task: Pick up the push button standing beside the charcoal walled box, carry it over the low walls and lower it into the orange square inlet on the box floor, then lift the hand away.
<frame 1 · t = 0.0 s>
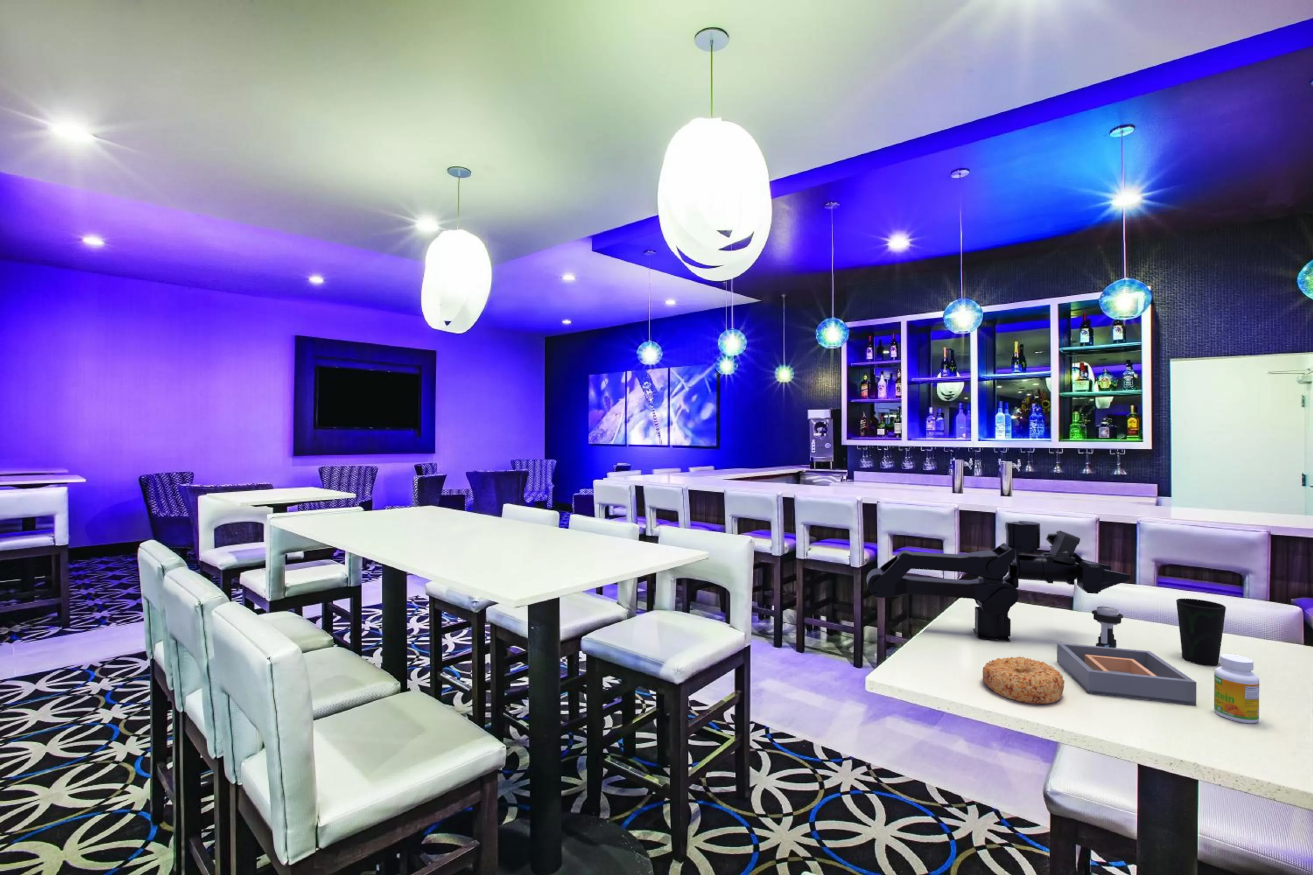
hand: (1120, 572, 133), 17 cm above the table, tool horizontal, fingers open, 9 cm apart
supplement bottle: (1236, 717, 100), on the table
cup: (1200, 661, 125), on the table
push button: (1108, 656, 128), on the table
bagel: (1022, 692, 110), on the table
walled box: (1120, 681, 114), on the table
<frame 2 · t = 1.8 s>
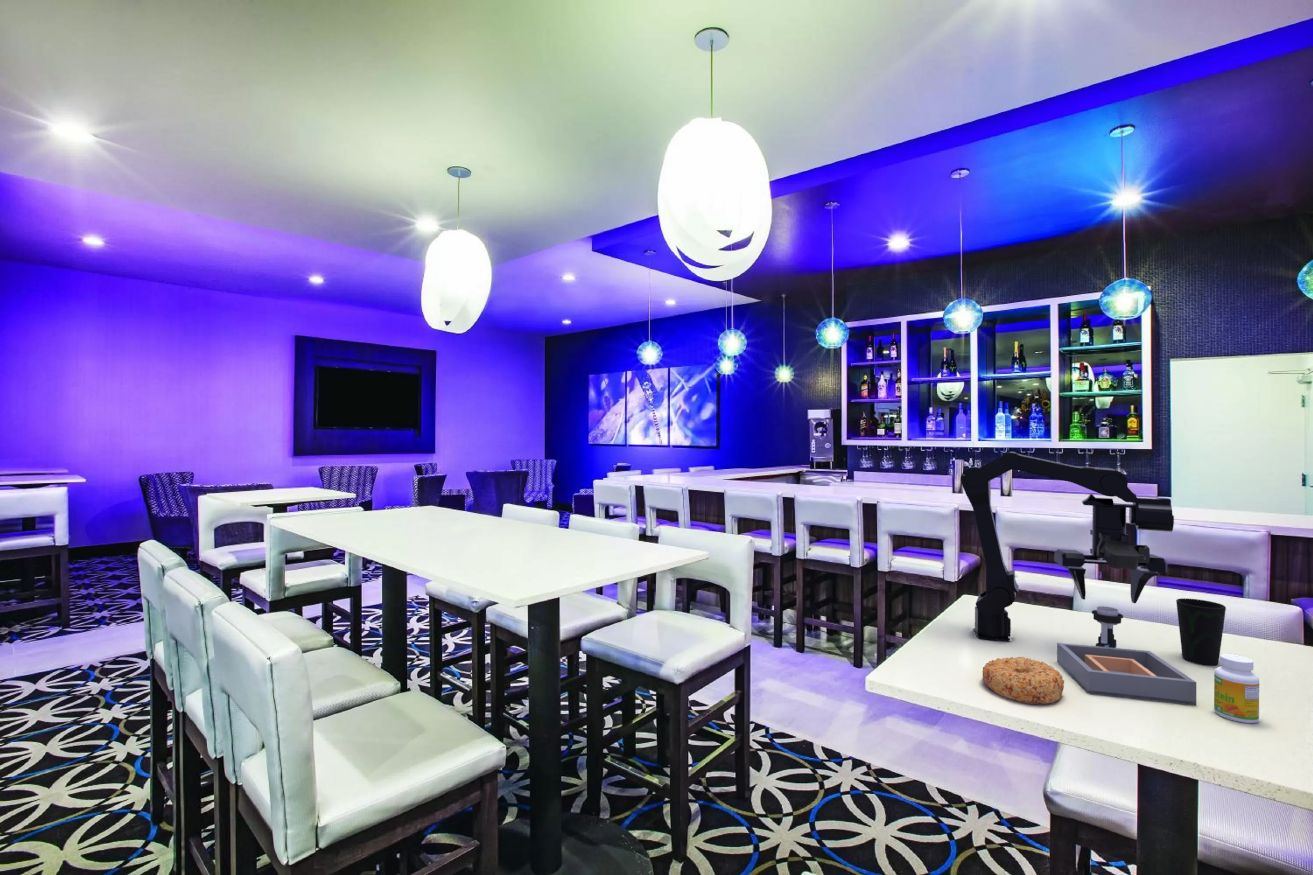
hand: (1108, 600, 128), 12 cm above the table, tool pointing down, fingers open, 9 cm apart
nothing on the table moved.
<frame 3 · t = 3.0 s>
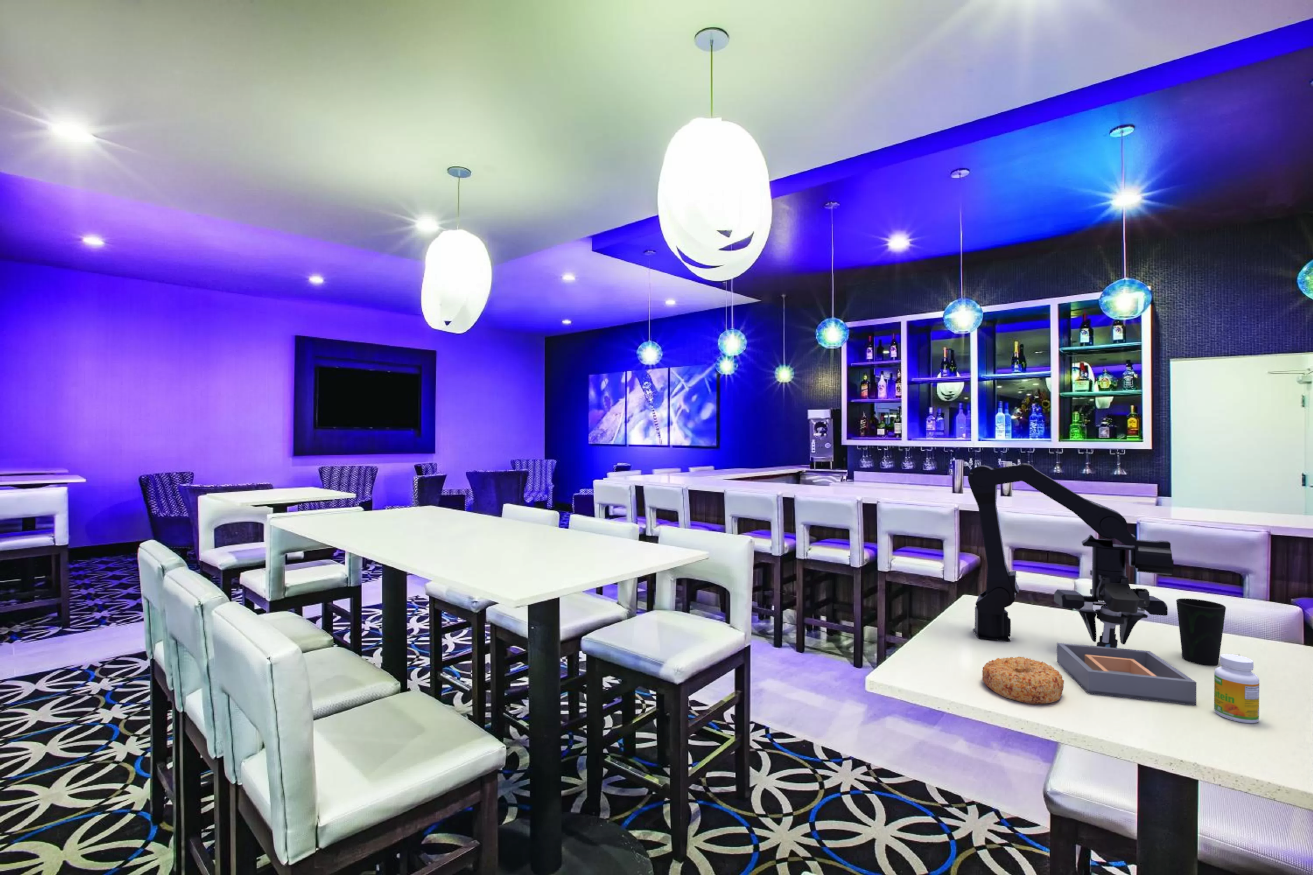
hand: (1108, 642, 128), 3 cm above the table, tool pointing down, fingers open, 5 cm apart
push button: (1108, 655, 128), on the table, touching gripper
everything else where it was.
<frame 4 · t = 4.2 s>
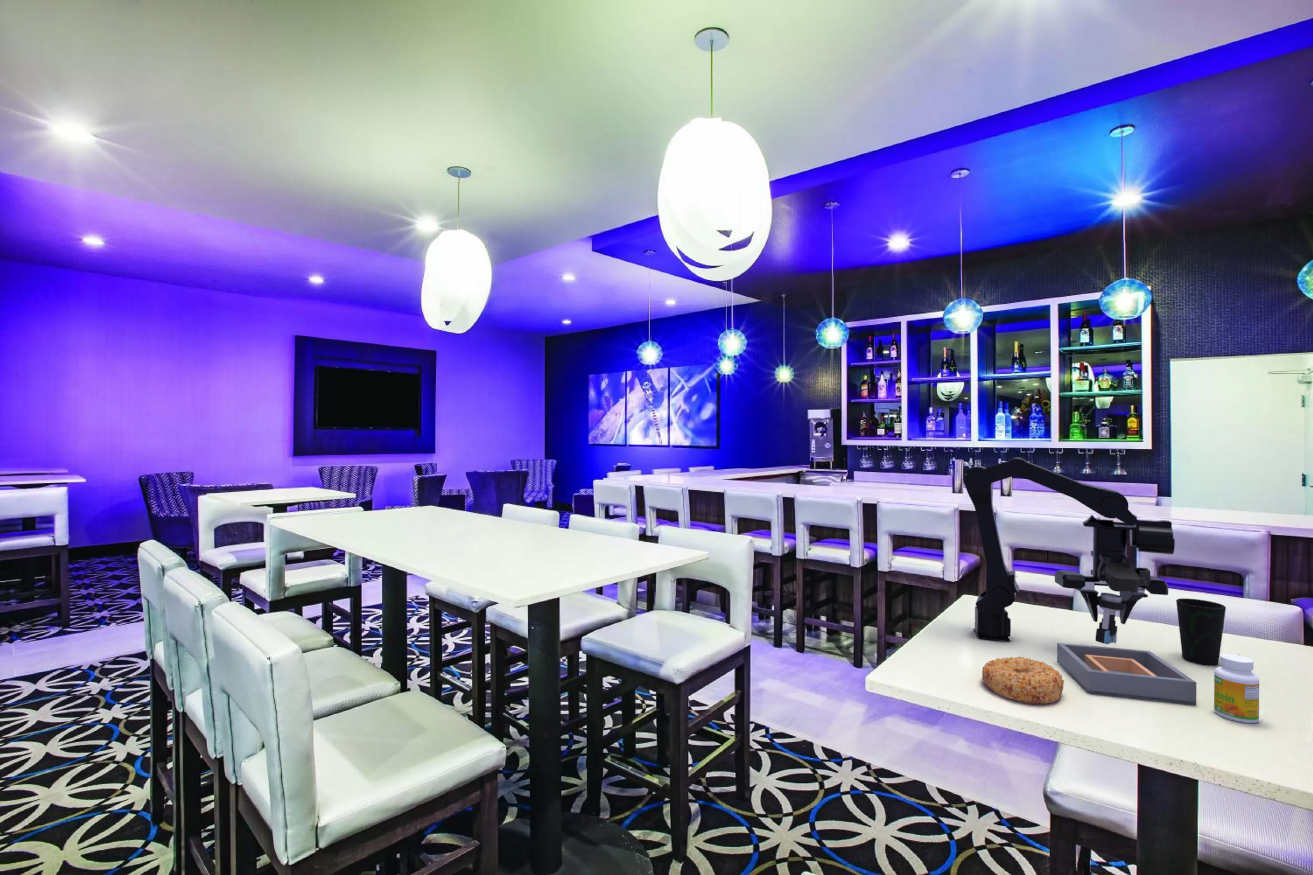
hand: (1108, 622, 128), 7 cm above the table, tool pointing down, fingers closed on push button, 5 cm apart
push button: (1107, 642, 128), point 3 cm above the table, touching gripper
everything else where it was.
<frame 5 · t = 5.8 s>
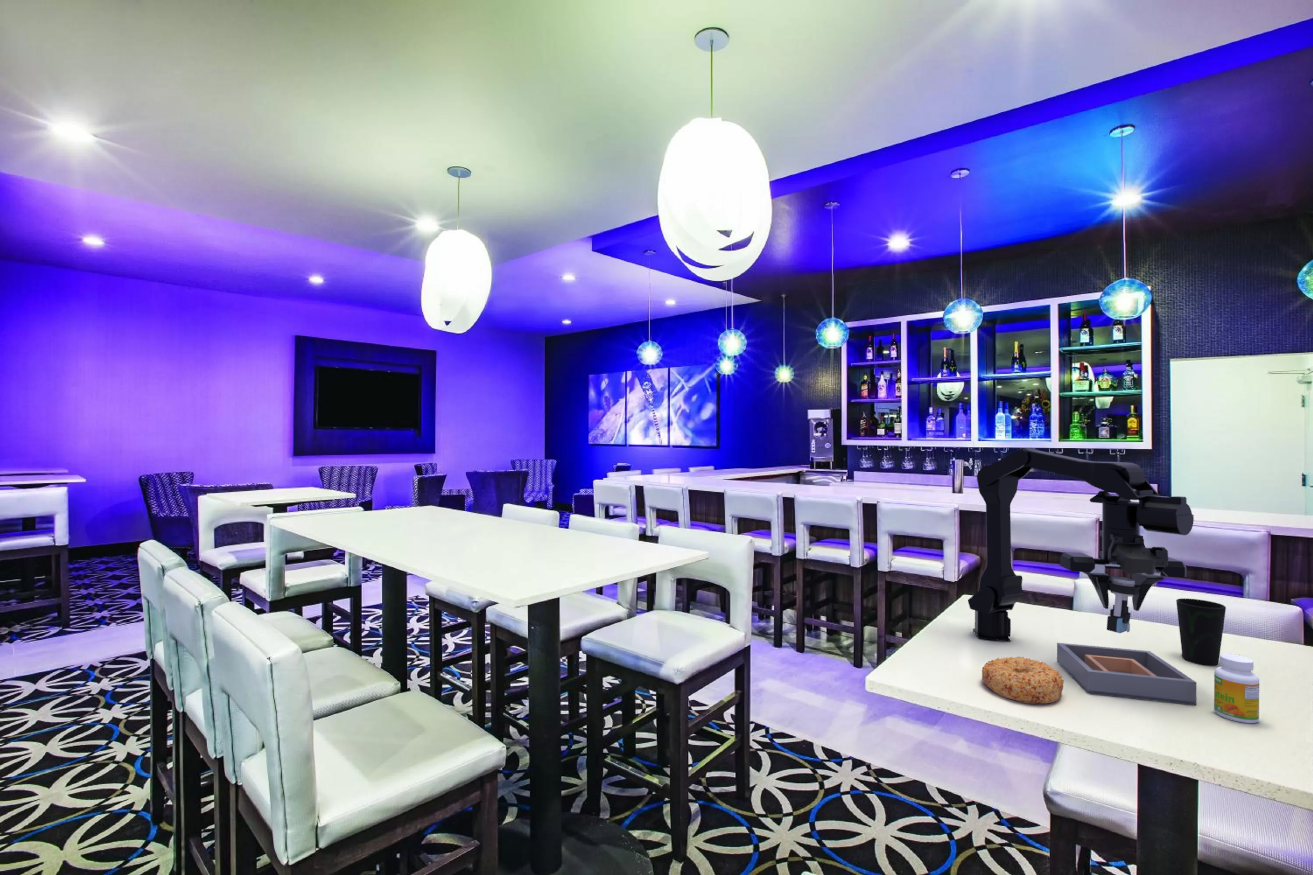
hand: (1120, 609, 116), 13 cm above the table, tool pointing down, fingers closed on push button, 5 cm apart
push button: (1120, 630, 116), point 9 cm above the table, touching gripper
everything else where it was.
when the fingers open (4 cm above the table, at t = 7.7 s): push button stays where it is, resting on walled box.
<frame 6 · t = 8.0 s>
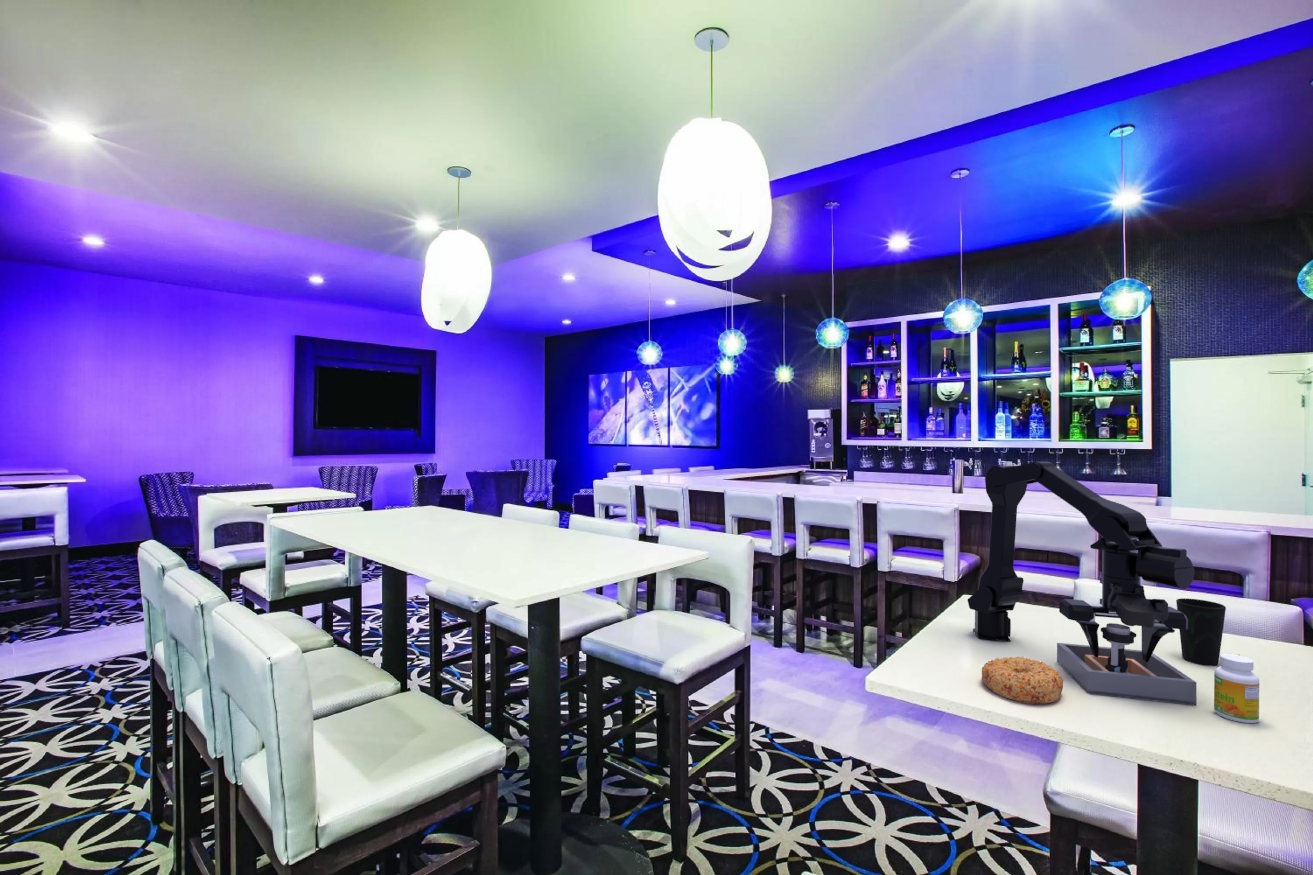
hand: (1120, 658, 114), 4 cm above the table, tool pointing down, fingers open, 8 cm apart
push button: (1119, 679, 114), resting on walled box
everything else where it was.
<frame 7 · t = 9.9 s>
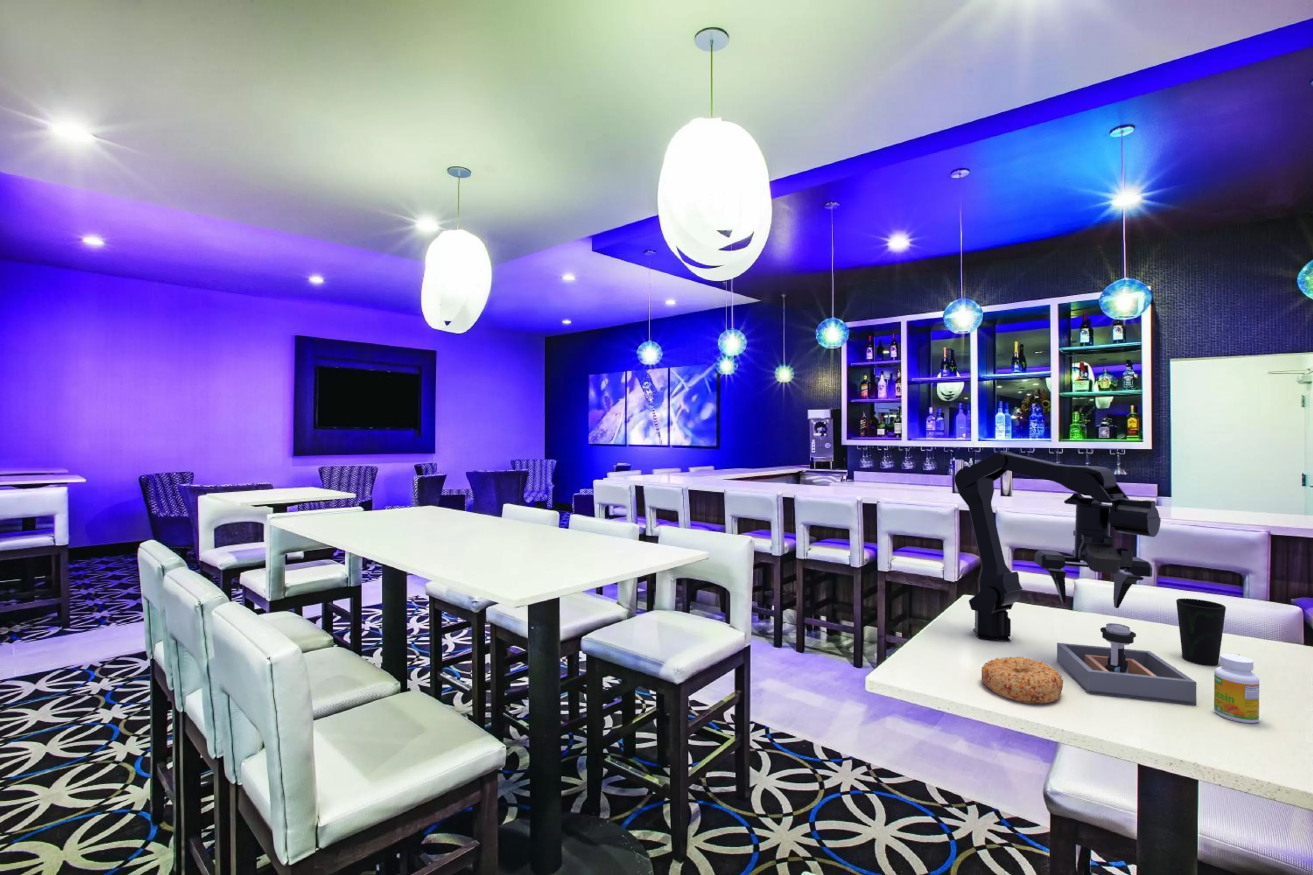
hand: (1089, 605, 122), 12 cm above the table, tool pointing down, fingers open, 9 cm apart
nothing on the table moved.
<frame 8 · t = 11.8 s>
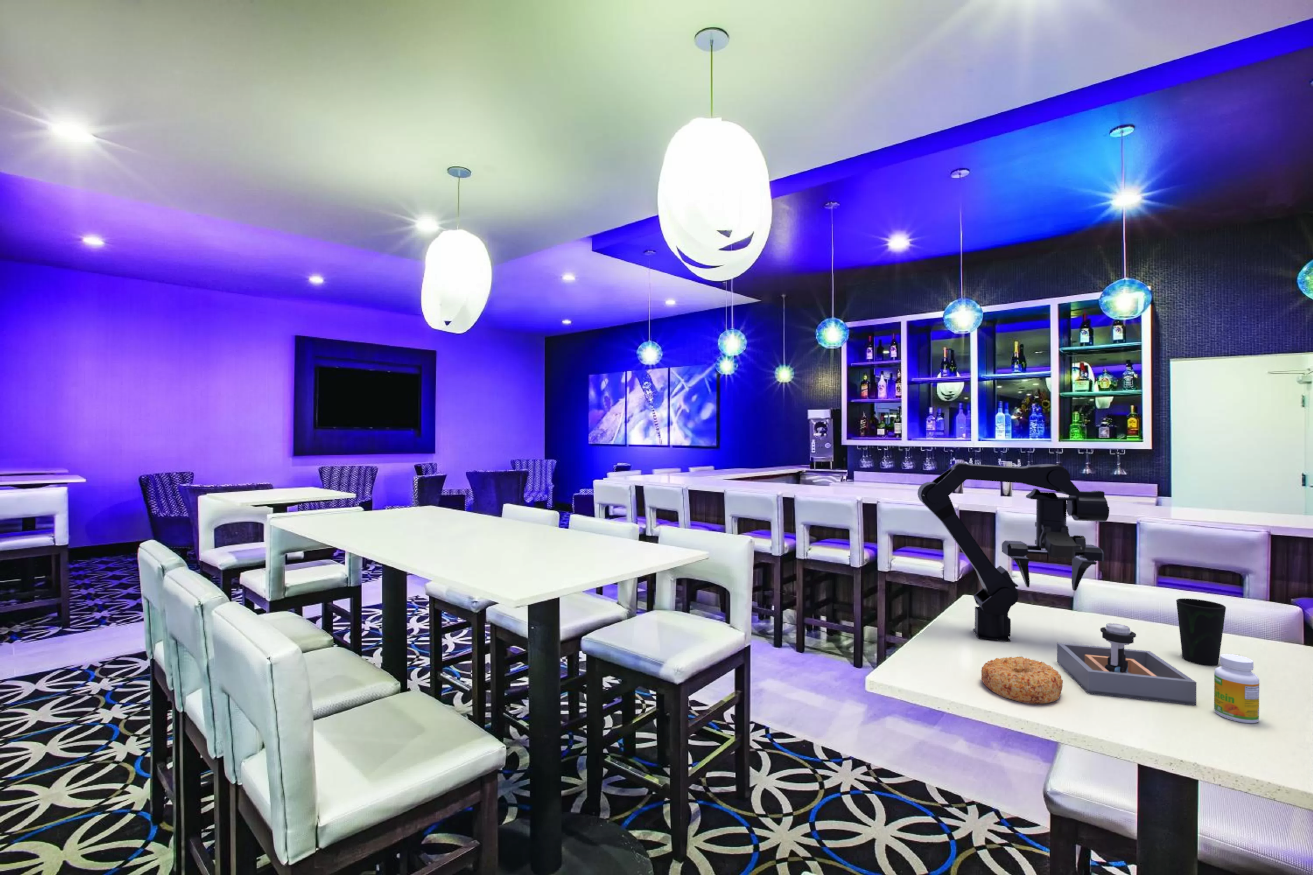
hand: (1050, 588, 136), 12 cm above the table, tool pointing down, fingers open, 9 cm apart
nothing on the table moved.
at the end: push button 0.2 cm off-centre on the walled box, point 0.4 cm above the walled box's base; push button tilted 0°; the gripper is holding nothing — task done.
